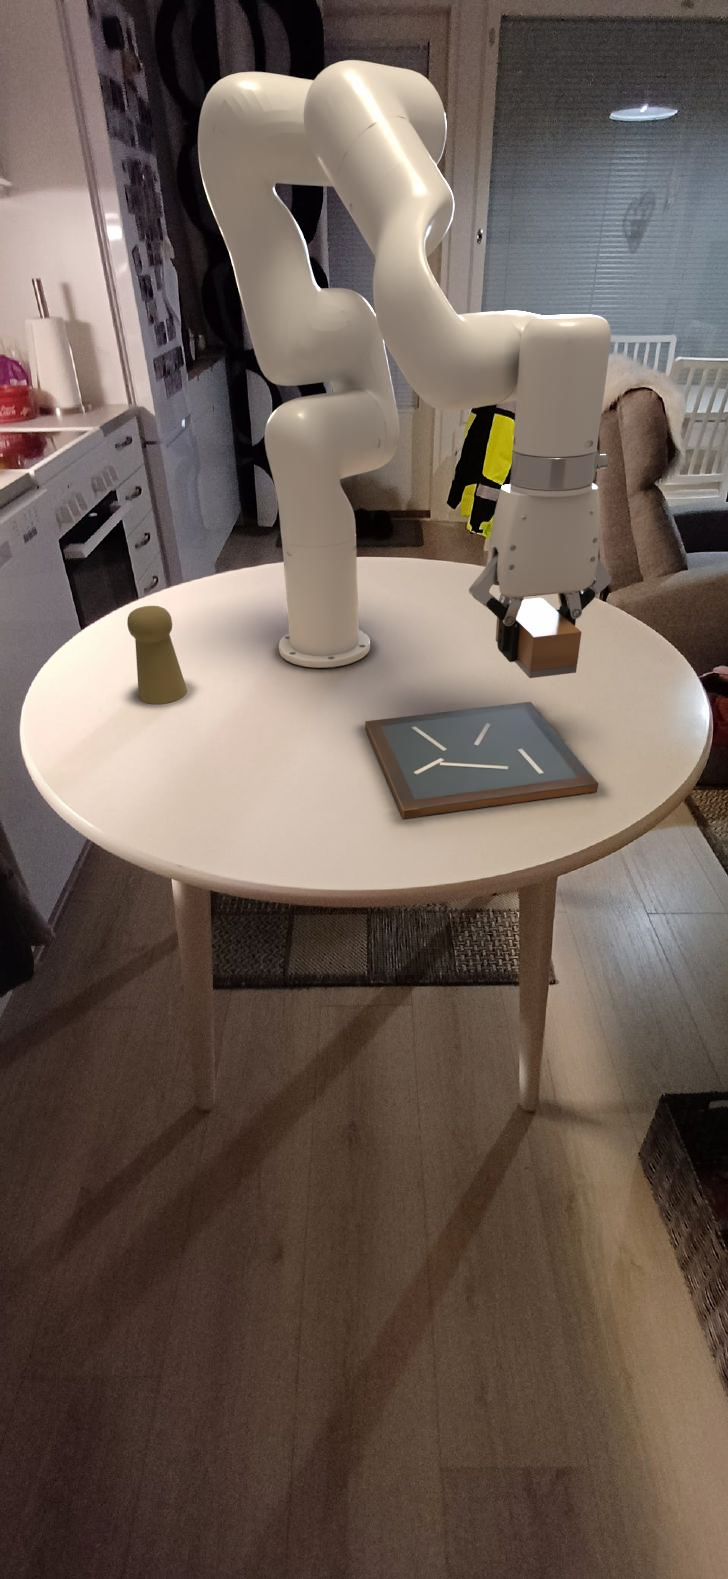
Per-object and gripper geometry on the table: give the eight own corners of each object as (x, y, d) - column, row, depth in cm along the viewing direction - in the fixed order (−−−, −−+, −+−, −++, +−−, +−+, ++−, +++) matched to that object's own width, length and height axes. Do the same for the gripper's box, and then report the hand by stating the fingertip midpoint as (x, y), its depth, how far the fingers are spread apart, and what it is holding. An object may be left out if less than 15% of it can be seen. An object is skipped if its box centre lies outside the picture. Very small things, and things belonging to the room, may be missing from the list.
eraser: (495, 640, 85) (497, 602, 83) (537, 635, 86) (541, 597, 84) (529, 678, 77) (533, 637, 75) (576, 672, 78) (581, 631, 76)
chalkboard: (365, 728, 89) (365, 720, 88) (529, 708, 92) (530, 701, 91) (403, 818, 74) (403, 810, 74) (597, 791, 77) (598, 783, 77)
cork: (175, 705, 95) (160, 620, 88) (130, 702, 96) (111, 617, 89) (194, 683, 99) (181, 601, 93) (150, 680, 101) (134, 599, 94)
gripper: (618, 457, 76) (593, 632, 86) (451, 470, 73) (446, 649, 83) (657, 472, 70) (625, 659, 80) (477, 487, 67) (467, 678, 77)
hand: (534, 652), depth 81 cm, fingers closed on eraser, 5 cm apart
